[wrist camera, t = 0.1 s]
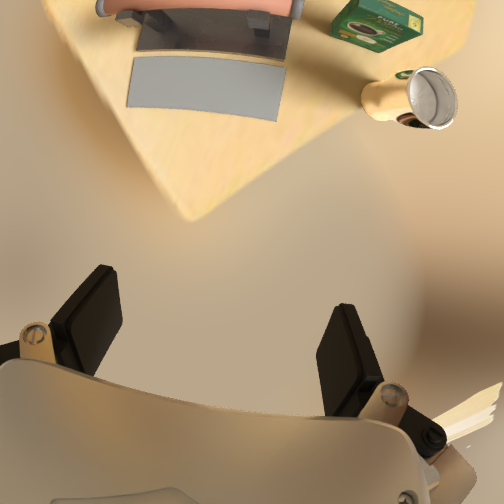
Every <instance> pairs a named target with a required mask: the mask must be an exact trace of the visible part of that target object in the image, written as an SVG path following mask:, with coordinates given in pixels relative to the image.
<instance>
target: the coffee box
mask: <svg viewBox="0 0 504 504" xmlns="http://www.w3.org/2000/svg"><path fill="white" fill-rule="evenodd" d="M423 19H424V18H423V17H422V16H420V15H418V14H416V13H414V12H412V11H410V10H408V9H406V8H404V7H402V6H400V5H398V4H396V3H394V2H392V1H390V0H350V2H349V3H348V4H347V5H346V6H345V7H344V8H343V10H342V11H341V12H340V13H339V14H338V15H337V17H336V18H335V19H334V20H333V22H332V25H331V30H330V36H332V37H335V38H338V39H341V40H345V41H348V42H351V43H354V44H356V45H359V46H362V47H364V48H367V49H369V50H372V51H375V52H377V53H380V52H383V51H385V50H387V49H389V48H391V47H394V46H396V45H398V44H401V43H403V42H405V41H408V40H410V39H413V38H415V37H418V36H420V35H423Z"/></svg>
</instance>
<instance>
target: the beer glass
mask: <svg viewBox="0 0 504 504" xmlns="http://www.w3.org/2000/svg"><path fill="white" fill-rule="evenodd" d="M361 104H362V107H363V109H364V110H365V112H366V113H367V114H368V115H369V116H370V117H371V118H373V119H375V120H378V121H387V120H390V119H392V120H394V121H396V122H398V123H400V124H403V125H405V126H409V127H414V128H428V129H430V128H434V129H442V128H445V127H447V126H448V125H450V124H451V123H452V122H453V120H454V118H455V116H456V113H457V109H458V101H457V95H456V92H455V89H454V87H453V85H452V83H451V81H450V80H449V79H448V78H447V76H445V74H443V73H442V72H441V71H439V70H438V69H435V68H433V67H427V66H425V67H417V68H409V69H404V70H401V71H398V72H395V73H393V74H392V75H390V76H389V77H387V78H386V79H385V80H384V81H383V82H380V81H375V82H371V83H369V84H367V85H366V86H365V87H364V89H363V90H362V93H361Z"/></svg>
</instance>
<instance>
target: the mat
mask: <svg viewBox="0 0 504 504" xmlns="http://www.w3.org/2000/svg"><path fill="white" fill-rule="evenodd" d="M286 69H287V68H283V67H277V66H272V65H266V64H259V63H252V62H245V61H237V60H227V59H216V58H201V57H135V60H134V65H133V71H132V76H131V82H130V89H129V96H128V103H127V107H144V108H168V109H183V110H195V111H206V112H215V113H223V114H231V115H238V116H245V117H252V118H258V119H264V120H269V121H275V122H277V116H278V111H279V106H280V100H281V95H282V90H283V84H284V79H285V74H286Z"/></svg>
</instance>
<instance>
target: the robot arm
mask: <svg viewBox="0 0 504 504" xmlns="http://www.w3.org/2000/svg"><path fill="white" fill-rule="evenodd" d="M50 321H51V322H50V323H49V325H48V326H47V324H44V323H42V322H34V323H31V324H28V325H27V326H25V327H24V329H22V331H21V333H20V338H19V340H18V341H14V342H11V343H7V344H4V345H0V504H461V503H462V502H463V500H464V499H465V498H466V497H467V495H468V494H469V493H470V491H471V490H472V488H473V487H474V485H475V483H476V479H477V476H476V472H475V470H474V469H473V468H472V467H471V466H470V464H469V463H468V462H467V461H466V460H465V459H464V458H463V457H462V456H461V455H460V454H459V452H458V451H457V450H456V449H455V448H454V447H453V446H452V445H451V444H450V445H449V446H448V445H447V444H446V442H447V436H446V433H445V431H444V429H443V428H442V427H441V426H440V425H438V424H437V423H435V422H434V421H432V420H431V419H429V418H427V417H426V416H424V415H423V414H421V413H419V412H418V411H416V410H415V409H413V408H412V407H410V406H409V405H408V402H409V395H408V393H407V391H406V390H405V388H404V387H403V386H401V385H400V384H399V383H396V382H393V381H384V378H383V375H382V373H381V370H380V367H379V364H378V361H377V359H376V356H375V353H374V350H373V348H372V345H371V343H370V340H369V338H368V337H367V336H366V334H365V331H364V329H363V326H362V324H361V321H360V318H359V316H358V314H357V311H356V309H355V306H354V305H352V304H344V303H341V304H339V306H336V307H335V308H334V310H333V313H332V315H331V318H330V321H329V323H328V326H327V328H326V330H325V333H324V335H323V337H322V340H321V342H320V345H319V347H318V349H317V353H316V360H317V366H318V372H319V378H320V385H321V391H322V398H323V404H324V411H325V416H304V415H286V414H273V413H262V412H252V411H244V410H236V409H228V408H221V407H215V406H209V405H203V404H197V403H192V402H187V401H182V400H177V399H173V398H168V397H164V396H160V395H155V394H151V393H147V392H143V391H139V390H136V389H132V388H129V387H125V386H122V385H119V384H115V383H112V382H109V381H106V380H102V379H99V378H96V377H93V376H94V374H95V372H96V371H97V369H98V367H99V365H100V363H101V361H102V359H103V358H104V356H105V354H106V352H107V350H108V349H109V346H110V345H111V343H112V341H113V340H114V338H115V336H116V334H117V333H118V331H119V329H120V327H121V325H122V321H123V318H122V311H121V304H120V297H119V289H118V281H117V273H116V271H114V269H113V267H112V266H106V265H102V264H100V265H99V266H98V267H97V268H96V269H95V270H94V271H93V272H92V273H91V274H90V275H89V277H88V278H87V279H86V280H85V281H84V282H83V283H82V284H81V285H80V286H79V288H78V289H77V290H76V291H75V292H74V293H73V294H72V295H71V296H70V298H69V299H68V300H67V301H66V302H65V304H64V305H63V306H62V307H61V308H60V309H59V311H58V312H57V313H56V314H55V315H54V317H53V318H52V319H51V320H50Z"/></svg>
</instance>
